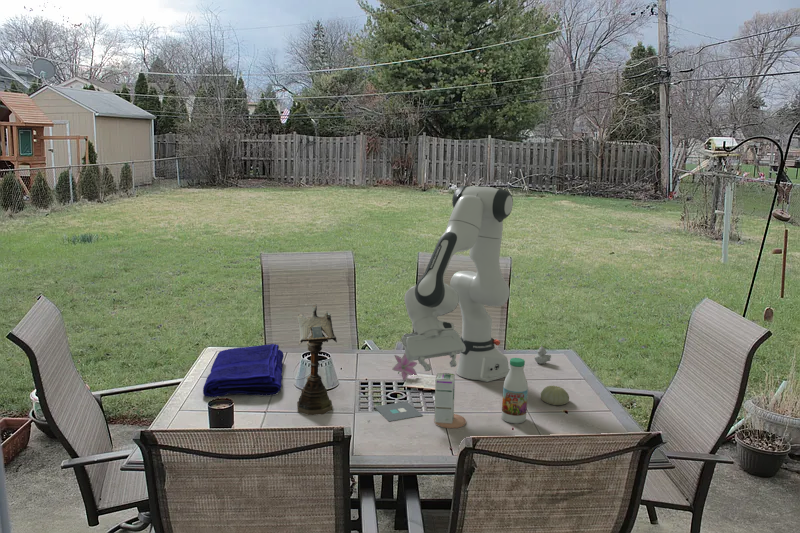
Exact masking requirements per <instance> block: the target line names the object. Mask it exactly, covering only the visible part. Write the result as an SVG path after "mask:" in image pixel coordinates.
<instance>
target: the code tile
mask: <svg viewBox="0 0 800 533" xmlns="http://www.w3.org/2000/svg"><path fill="white" fill-rule="evenodd" d="M374 409H376V410H377V412H378V413H379V414H380V415H382V417H384V418H385V419H386V420H387V421H388V422H393V421H394V422H396V421H400V420H406V418H407V419H413V418H417V417H418V418H419V417H423V416H424V415H423V413H421V412H420V411H419V410H417V408H415V407H414V406H413V405H412V404H411V403H410V402H408V401H407V400H405V401H401V402H394V403H389V404H383V405H376V406H374Z"/></svg>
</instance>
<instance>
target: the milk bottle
mask: <svg viewBox="0 0 800 533" xmlns="http://www.w3.org/2000/svg"><path fill="white" fill-rule="evenodd" d="M525 363H526V360H525V359H524V358H522V357H512V358H510V359H509V367H510V370H509V373H508V375H507V376H506V377H504V378H505V379H504V381H503V386H502V388H503V391H502V406H501V419H502V420H503V421H504V422H506V423H509V424H515V425H516V424H522V423H524V422H525V421H526V420H527V409H528V407H527V406H528V396H529V395H528V390H529V389H528V388H529V387H528V384H529V383H528V379H527V377H526V375H525V371H524V368H525Z"/></svg>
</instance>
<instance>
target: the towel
mask: <svg viewBox="0 0 800 533" xmlns="http://www.w3.org/2000/svg"><path fill="white" fill-rule="evenodd" d="M279 348H280V345H279V344H276V343H269V344H261V345H252V346H251V345H250V346H245V347H243V346H242V347H235V348H228V349H224V350H220V351H219V352H218V353H217V354H216V357H215V359H214V360H213V364H212V366H211V368H210V373H209V374H208V376H207V377H206V380H205V383H204V385H203V389H202V394H203V395H204V396H205V397H207V398H218V397H217V396H221V397H224V396H226V395H238V394H243V395H250V396H264V397H265V396H267V397H268V396H275V395H277V394H279V393H280V392H281V388H282V384H283V382H282V381H283V375H282V374H283V369H284V368H283V367H284V366H283V360H284V352H283V350H281V349H279Z"/></svg>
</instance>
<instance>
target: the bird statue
mask: <svg viewBox="0 0 800 533" xmlns="http://www.w3.org/2000/svg"><path fill="white" fill-rule="evenodd" d="M311 309H312V310H311V311H312V312H311V315H310V317H307V316H305V315H304V314H303V313H300V314H298V315H297V316H296V320H297V324H298V331H299V339H298V341H299V342H298V346H300V345H301V344H302V343H303V342H306V345H307V351H308V352H310V363H309V365H310V375H309V376H307V378H306V382H305V385H304V386H303V388H302V389H301V394H300V396H299V397H298V401H297V404H296V405H297V408H296V409H297V412H298V413H301V414H304V415H307V416H317V415H318V416H319V415H321V416H322V415H325V414H327V413H329V412H332V411H333V403H332V401H333V400H332V399H330V397H329V395H328V391H327V388H326V385H324V383H323V381H322V378H323V377H322V376H321V375H320V374H318V372H319V365H320V362H319V354H320V352H321V351H322V349H323V347H322V346H323V343H328V342H329V341H330V340H333V341H334V342H335V343H338V341H337V336H335V333H334V328H333V324H332V322H333V321H332V317H331V313H330V312H329V311H328V310H326V312H324V313H323V314H324V315H323V316H318V314H317V309H318V307H317V303H315V304H313V306H312V308H311ZM310 333H311V334H310ZM309 335H310V336H309Z"/></svg>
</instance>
